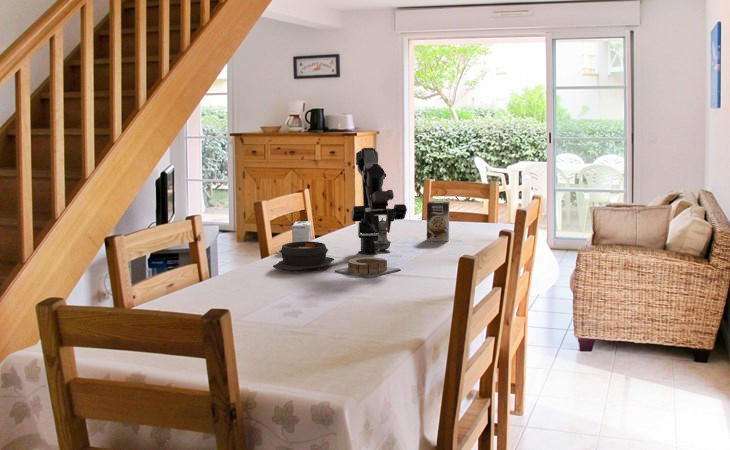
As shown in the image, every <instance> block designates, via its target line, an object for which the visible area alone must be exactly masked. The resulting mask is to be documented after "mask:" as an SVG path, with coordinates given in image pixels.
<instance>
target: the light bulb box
mask: <svg viewBox="0 0 730 450" xmlns="http://www.w3.org/2000/svg"><path fill="white" fill-rule="evenodd" d="M291 233H292V234H291V237H292V238H291V239H292V240H291V243H292V242H303V241H310V242H312V221H311V220H309V221H308V220H307V221H306V220H305V221H304V220H301V221H299V220H298V221H294V223H293V224H292V225H291Z"/></svg>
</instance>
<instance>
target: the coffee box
mask: <svg viewBox="0 0 730 450" xmlns="http://www.w3.org/2000/svg"><path fill="white" fill-rule="evenodd" d="M450 202H451V201H427V202H426V242H443V243H444V242H445V243H446V242H447V243H448V242H449V240H450Z"/></svg>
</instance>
